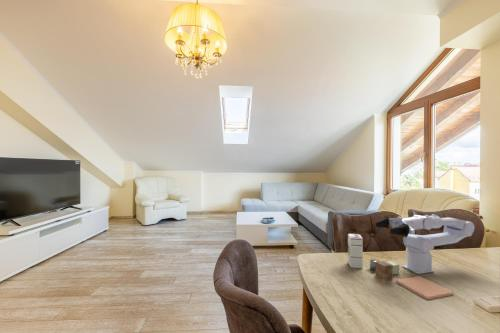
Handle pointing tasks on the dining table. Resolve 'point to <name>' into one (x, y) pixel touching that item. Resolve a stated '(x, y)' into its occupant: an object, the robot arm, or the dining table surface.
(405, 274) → the dining table surface
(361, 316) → the dining table surface
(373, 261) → the grey metal cylinder
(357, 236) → the syrup box
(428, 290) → the terracotta tile
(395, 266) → the sage painted cube
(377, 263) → the walnut block
